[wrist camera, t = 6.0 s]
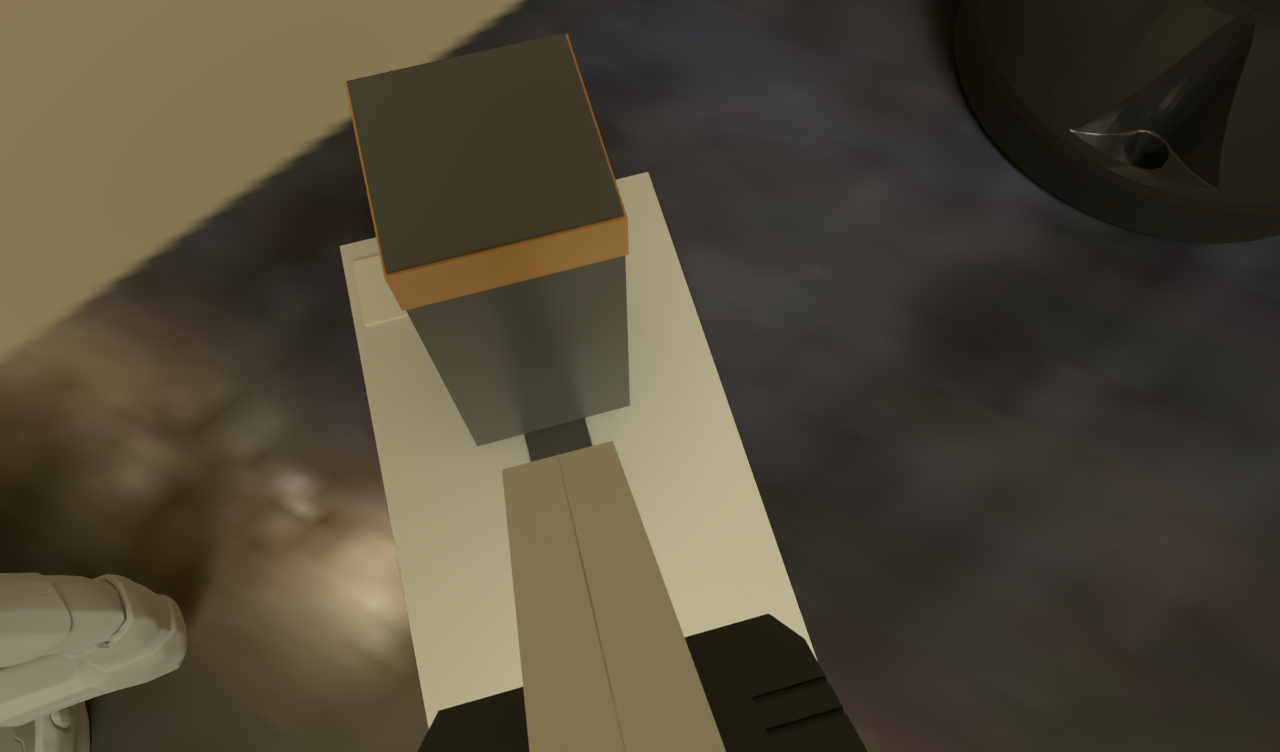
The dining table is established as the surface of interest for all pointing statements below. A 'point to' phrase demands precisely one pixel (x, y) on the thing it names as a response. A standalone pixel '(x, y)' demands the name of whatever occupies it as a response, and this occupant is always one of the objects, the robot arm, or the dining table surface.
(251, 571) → the dining table surface
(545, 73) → the lever
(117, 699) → the dining table surface
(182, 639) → the mug
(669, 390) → the switch box
